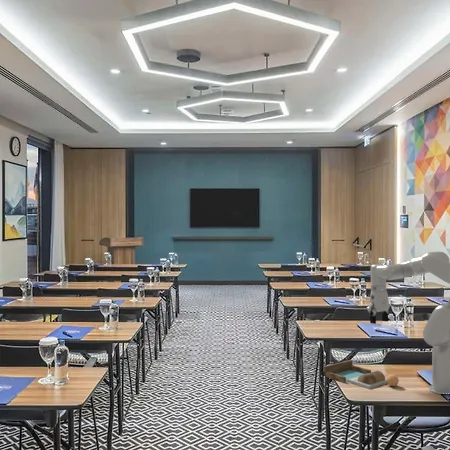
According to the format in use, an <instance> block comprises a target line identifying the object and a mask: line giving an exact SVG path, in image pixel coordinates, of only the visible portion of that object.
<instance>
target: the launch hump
mask: <svg viewBox="0 0 450 450" xmlns="http://www.w3.org/2000/svg"><path fill="white" fill-rule="evenodd" d="M385 379H386V377H385V375H384V373H383V372H382V371H381V370H375V371H371V373H368V374H364V375H361V376H359V377H358V380H357V381H359V382H362V383H366V384H369V385H370V384H373V383H377V382H380V381H383V380H385Z"/></svg>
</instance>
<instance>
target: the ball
mask: <svg viewBox="0 0 450 450" xmlns="http://www.w3.org/2000/svg"><path fill="white" fill-rule="evenodd" d="M385 379H386V381H387V385H388V386H389V387H396V386H398V385H399V381H400V380H399V377H398V376H397V375H396V374H393V373H390V374H389V375H387V377H386V378H385Z"/></svg>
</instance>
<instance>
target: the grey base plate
mask: <svg viewBox="0 0 450 450" xmlns="http://www.w3.org/2000/svg"><path fill="white" fill-rule="evenodd" d="M358 377H359V376H358ZM358 377H354V378H351V379H347V383H350V384H353V385H355V386H359V387H362V388H365V389H368V390H369V389H373V388H376V387H380V386H383V385H386V384H387V385H388V383H387V381H386V379H387V378H385V380H383V381H380V382H377V383H373V384H370V385H369V384H366V383H362V382H359V381H357V380H358Z"/></svg>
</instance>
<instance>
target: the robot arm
mask: <svg viewBox="0 0 450 450" xmlns="http://www.w3.org/2000/svg"><path fill="white" fill-rule="evenodd" d="M428 273H430V274H431V275H433V276H435V277H436V278H438V279H440V280H441V281H443V282H444V283H447V284H449V285H450V257H449V256H448V254H447V253H445V252H443V251H430V252H427V253H424V254H423V255H419V256H414V257H412V259H411V260H409V261H405V262H402V263H395V264H386V265H384V264H376V263H375V264H371V265H370V295H369V305H368V306H367V307H366V308H367V313H368V315H369V322H370V324H373V325H375V324H377V316H376V314H377V313H380V312H381V320H382V322H389V313H390V312H389V311H390V308H391V304H390V302H389V294H388V291H387V281H393V280H401V279H405V278H409V277H413V276H419V275H423V274H428ZM422 337H423V340H424V342H425V343H426V344H427V345H428V346H432V350H431V351H432V353H431V356H432V357H431V361H432V364H431V365H432V367H431V368H432V369H431V371H432V373H431V374H432V375H431V376H432V377H431V378H432V380H431V385H429V386H428V391H430V392H431V393H434V394H438V395H441V394H443V393H444V394H446V393H447V394H448V393H450V298H449V299H448V301H447V302H446V303H442V304H440V305H438V306H436V307H435V308H434V310H433V311H432V313H431V314H430V316H429V318H428V321H427V322H426V324H425V326H424V329H423V330H422Z"/></svg>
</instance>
